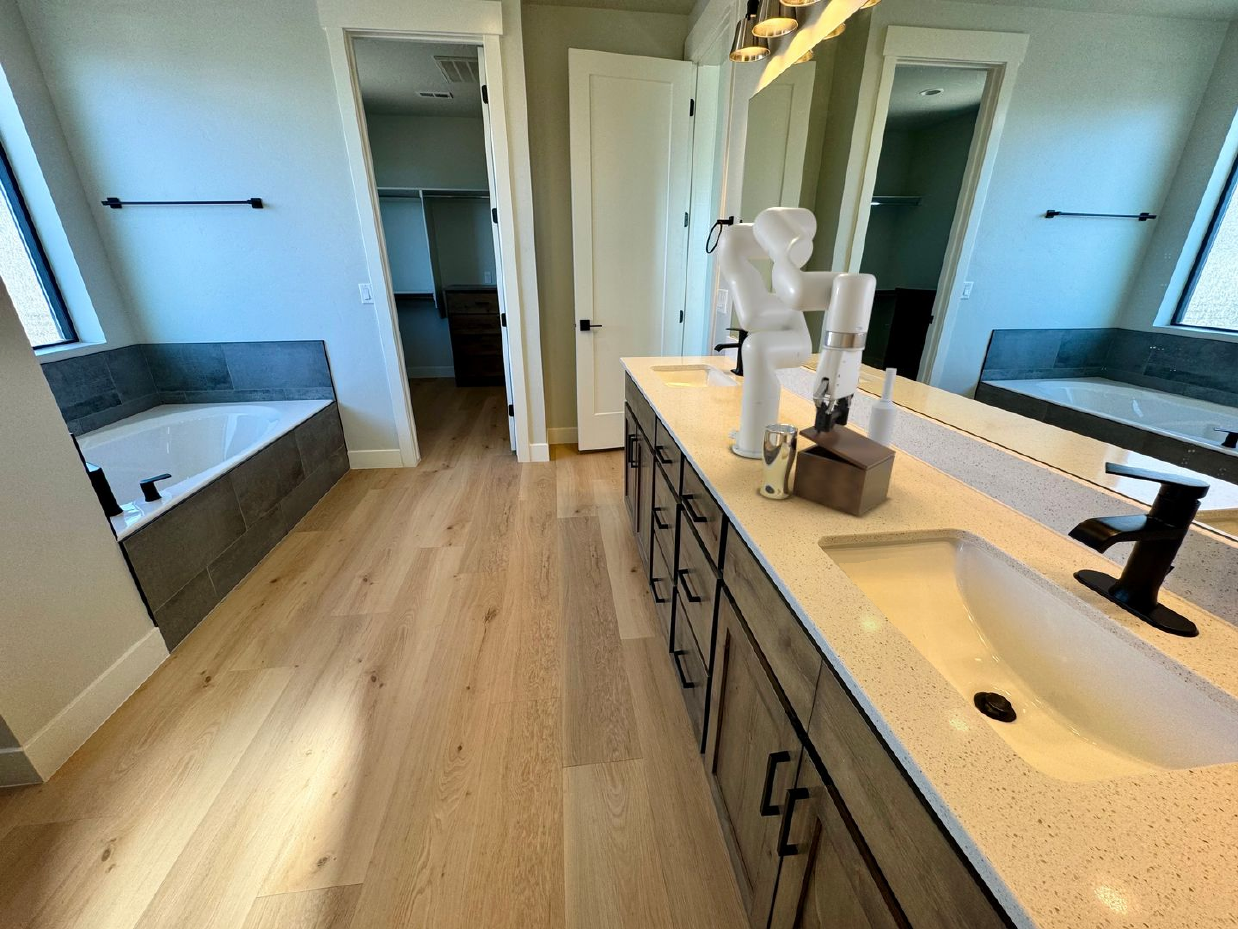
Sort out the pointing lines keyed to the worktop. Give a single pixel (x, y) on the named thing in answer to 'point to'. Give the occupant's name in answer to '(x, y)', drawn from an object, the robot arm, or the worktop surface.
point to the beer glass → (778, 459)
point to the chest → (840, 480)
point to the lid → (849, 444)
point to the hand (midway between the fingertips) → (830, 426)
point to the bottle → (883, 413)
